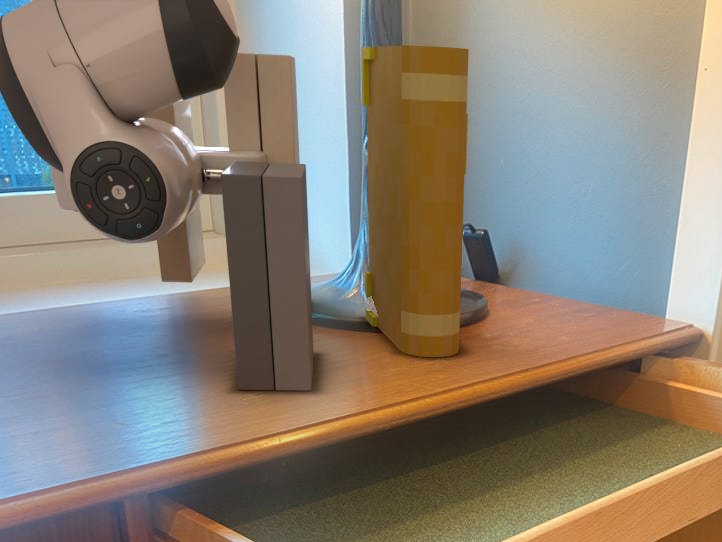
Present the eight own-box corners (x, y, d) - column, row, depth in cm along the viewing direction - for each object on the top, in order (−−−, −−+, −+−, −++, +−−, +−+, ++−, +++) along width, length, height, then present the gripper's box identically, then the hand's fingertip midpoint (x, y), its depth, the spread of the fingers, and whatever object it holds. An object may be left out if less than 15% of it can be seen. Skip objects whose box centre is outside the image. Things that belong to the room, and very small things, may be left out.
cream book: (161, 282, 97) (133, 51, 87) (178, 262, 107) (155, 54, 97) (191, 283, 97) (167, 53, 87) (205, 263, 108) (185, 55, 98)
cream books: (242, 322, 99) (221, 51, 87) (251, 295, 111) (234, 54, 99) (302, 323, 100) (290, 55, 88) (305, 296, 112) (295, 57, 100)
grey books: (238, 390, 78) (220, 173, 70) (249, 353, 88) (234, 161, 80) (311, 390, 79) (301, 176, 71) (313, 354, 89) (305, 164, 81)
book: (365, 318, 103) (361, 47, 91) (425, 317, 105) (429, 51, 93) (401, 358, 90) (402, 44, 77) (470, 355, 91) (482, 49, 79)
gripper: (267, 139, 86) (275, 131, 98) (27, 129, 83) (65, 123, 95) (272, 215, 89) (279, 199, 101) (41, 208, 86) (76, 193, 98)
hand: (174, 162), depth 98 cm, fingers closed on cream book, 3 cm apart
